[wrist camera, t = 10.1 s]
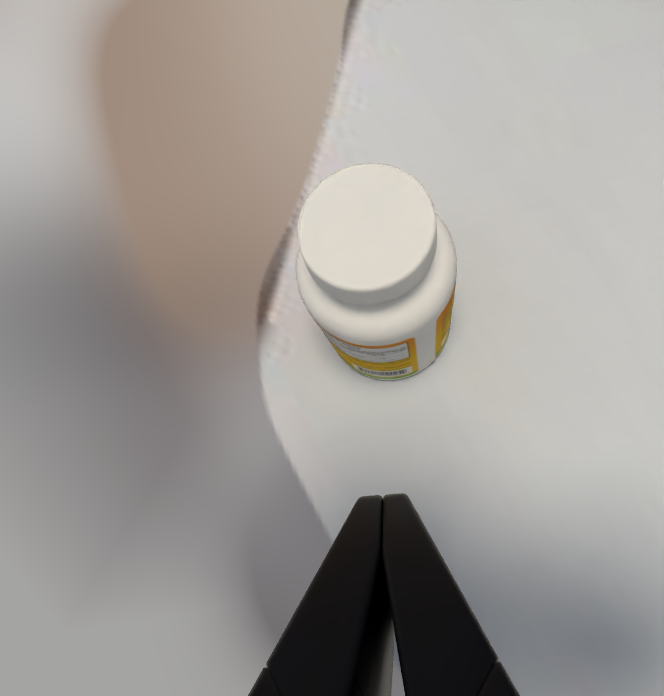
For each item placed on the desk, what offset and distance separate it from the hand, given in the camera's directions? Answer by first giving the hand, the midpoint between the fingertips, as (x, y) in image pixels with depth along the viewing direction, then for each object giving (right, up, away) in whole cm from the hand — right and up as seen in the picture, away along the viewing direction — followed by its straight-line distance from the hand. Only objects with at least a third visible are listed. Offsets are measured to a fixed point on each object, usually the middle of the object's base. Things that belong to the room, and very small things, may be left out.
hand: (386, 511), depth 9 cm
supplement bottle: (+2, +4, +15) cm, 16 cm away
